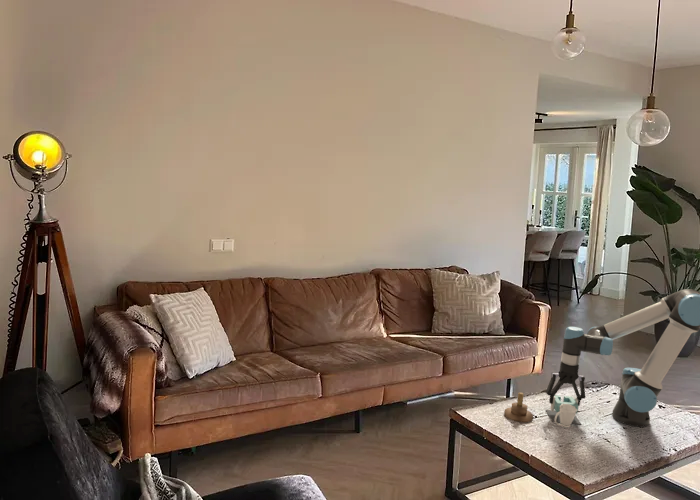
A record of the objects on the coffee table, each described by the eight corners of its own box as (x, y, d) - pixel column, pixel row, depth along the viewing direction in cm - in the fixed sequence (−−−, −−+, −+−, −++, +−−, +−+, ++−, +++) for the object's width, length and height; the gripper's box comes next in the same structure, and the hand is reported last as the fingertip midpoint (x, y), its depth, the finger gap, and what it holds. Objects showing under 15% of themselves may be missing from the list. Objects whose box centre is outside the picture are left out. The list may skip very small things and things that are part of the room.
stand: (529, 411, 262) (531, 389, 260) (535, 423, 250) (538, 400, 249) (501, 409, 263) (504, 387, 261) (507, 421, 251) (509, 397, 249)
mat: (572, 413, 264) (572, 412, 264) (581, 424, 252) (581, 423, 252) (545, 410, 265) (545, 409, 264) (552, 422, 253) (552, 421, 253)
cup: (577, 427, 249) (580, 410, 247) (559, 431, 245) (562, 415, 243) (565, 418, 255) (568, 402, 253) (547, 422, 251) (550, 406, 249)
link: (577, 413, 253) (578, 405, 252) (556, 411, 254) (557, 403, 253) (570, 405, 262) (572, 396, 261) (550, 403, 262) (551, 394, 262)
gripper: (592, 361, 257) (585, 410, 261) (542, 357, 259) (536, 405, 262) (598, 367, 250) (591, 417, 254) (546, 363, 251) (540, 412, 255)
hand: (563, 411), depth 258 cm, fingers closed on link, 9 cm apart
